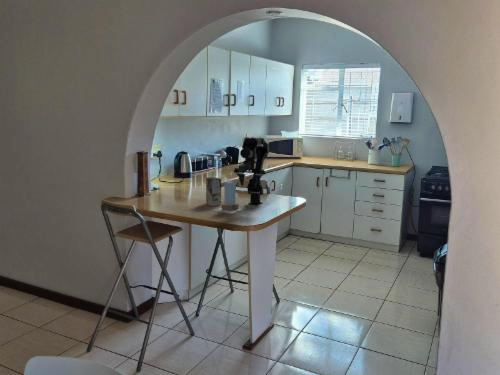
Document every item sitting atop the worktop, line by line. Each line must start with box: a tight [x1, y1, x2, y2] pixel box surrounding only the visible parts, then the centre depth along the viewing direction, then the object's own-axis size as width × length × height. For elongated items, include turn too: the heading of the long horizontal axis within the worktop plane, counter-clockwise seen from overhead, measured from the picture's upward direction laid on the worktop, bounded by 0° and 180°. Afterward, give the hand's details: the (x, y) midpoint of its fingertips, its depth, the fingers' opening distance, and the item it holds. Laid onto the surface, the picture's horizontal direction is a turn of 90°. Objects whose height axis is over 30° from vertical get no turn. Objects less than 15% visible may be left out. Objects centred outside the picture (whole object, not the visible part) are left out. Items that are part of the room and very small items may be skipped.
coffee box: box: [205, 176, 222, 207], centre depth 273 cm, size 9×6×16 cm
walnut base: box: [213, 203, 247, 215], centre depth 260 cm, size 16×12×4 cm
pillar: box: [223, 180, 237, 205], centre depth 259 cm, size 4×4×13 cm
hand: (248, 186), depth 260 cm, fingers open, 9 cm apart
